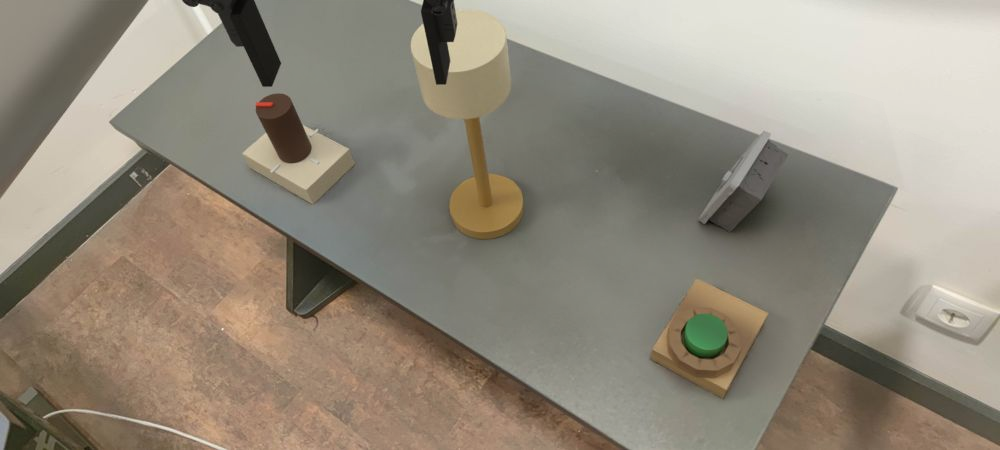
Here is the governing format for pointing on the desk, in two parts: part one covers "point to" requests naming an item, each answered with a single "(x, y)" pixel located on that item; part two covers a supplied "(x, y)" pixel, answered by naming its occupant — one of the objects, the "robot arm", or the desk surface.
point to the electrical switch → (745, 183)
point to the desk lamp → (473, 117)
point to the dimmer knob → (283, 127)
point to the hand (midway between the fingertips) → (356, 74)
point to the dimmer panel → (302, 165)
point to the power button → (705, 335)
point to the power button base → (741, 336)
